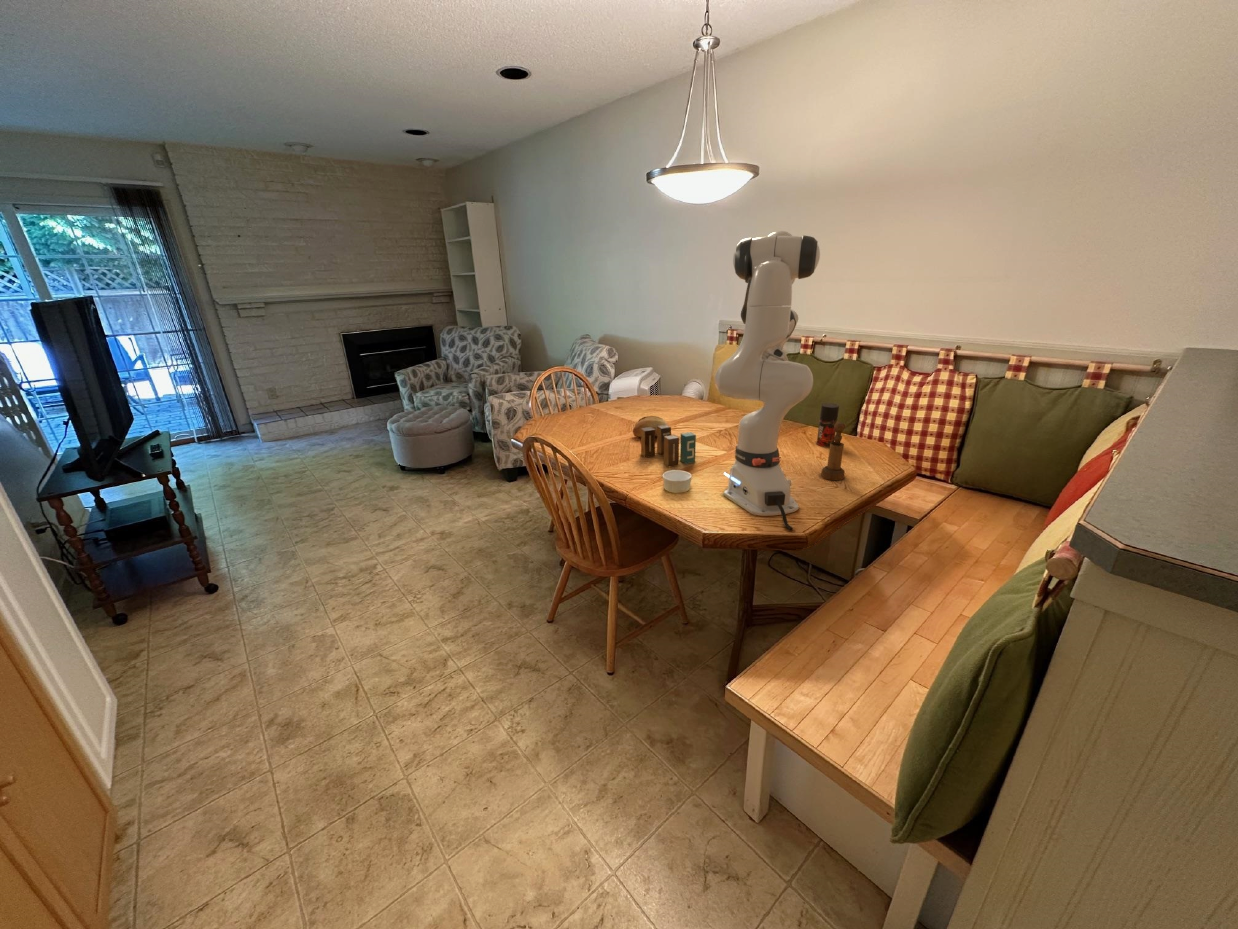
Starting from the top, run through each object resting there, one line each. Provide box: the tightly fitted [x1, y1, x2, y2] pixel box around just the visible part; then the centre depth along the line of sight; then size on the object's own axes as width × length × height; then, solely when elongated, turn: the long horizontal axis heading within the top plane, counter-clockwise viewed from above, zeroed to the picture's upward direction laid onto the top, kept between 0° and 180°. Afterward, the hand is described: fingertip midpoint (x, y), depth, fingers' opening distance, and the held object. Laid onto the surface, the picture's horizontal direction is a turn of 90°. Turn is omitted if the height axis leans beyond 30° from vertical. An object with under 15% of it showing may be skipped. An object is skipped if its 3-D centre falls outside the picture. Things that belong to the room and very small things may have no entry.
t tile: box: [656, 424, 672, 455], centre depth 175 cm, size 4×4×10 cm
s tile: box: [679, 431, 697, 465], centre depth 166 cm, size 4×4×10 cm
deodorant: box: [816, 402, 840, 448], centre depth 177 cm, size 6×6×15 cm
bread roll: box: [632, 415, 668, 438], centre depth 194 cm, size 10×15×8 cm, turn 97°
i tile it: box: [640, 427, 656, 458], centre depth 173 cm, size 4×4×10 cm
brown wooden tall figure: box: [820, 421, 846, 481], centre depth 148 cm, size 7×6×18 cm
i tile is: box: [663, 434, 680, 468], centre depth 164 cm, size 4×4×10 cm
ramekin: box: [662, 469, 693, 494], centre depth 146 cm, size 9×9×4 cm
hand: (745, 383), depth 173 cm, fingers open, 8 cm apart
